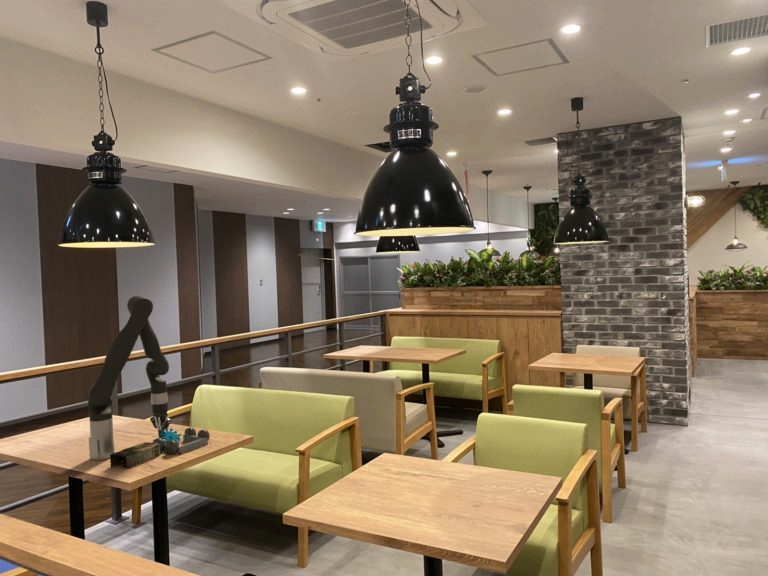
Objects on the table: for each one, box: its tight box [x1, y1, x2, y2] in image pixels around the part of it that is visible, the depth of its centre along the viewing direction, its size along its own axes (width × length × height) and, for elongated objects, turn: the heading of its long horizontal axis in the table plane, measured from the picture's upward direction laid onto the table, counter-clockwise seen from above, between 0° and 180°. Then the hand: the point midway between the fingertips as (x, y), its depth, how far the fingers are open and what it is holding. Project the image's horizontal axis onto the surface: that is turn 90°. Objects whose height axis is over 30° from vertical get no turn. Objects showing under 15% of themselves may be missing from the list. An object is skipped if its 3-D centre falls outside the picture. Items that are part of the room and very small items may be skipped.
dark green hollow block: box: [109, 441, 162, 469], centre depth 253 cm, size 20×10×6 cm, turn 156°
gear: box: [160, 427, 183, 445], centre depth 275 cm, size 11×6×10 cm
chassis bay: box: [152, 426, 211, 455], centre depth 270 cm, size 20×16×6 cm
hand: (161, 437), depth 278 cm, fingers closed
